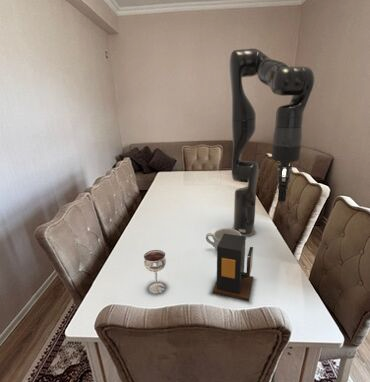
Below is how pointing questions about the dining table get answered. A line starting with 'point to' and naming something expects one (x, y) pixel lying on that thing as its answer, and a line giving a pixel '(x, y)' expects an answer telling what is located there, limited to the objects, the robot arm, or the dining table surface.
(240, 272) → the dispenser
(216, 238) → the teacup
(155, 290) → the wineglass
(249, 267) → the push plate
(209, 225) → the dining table surface
